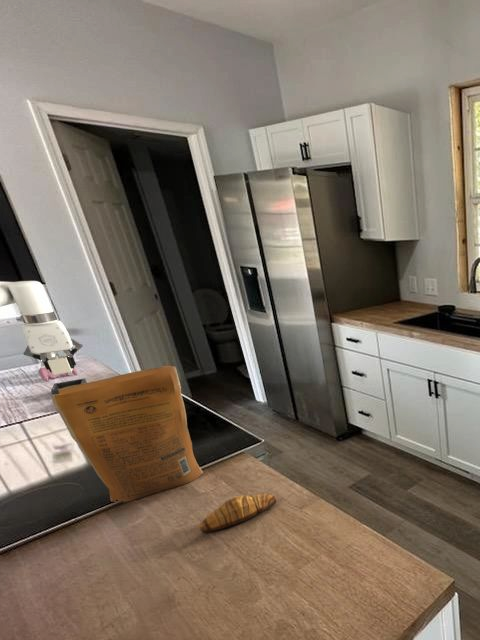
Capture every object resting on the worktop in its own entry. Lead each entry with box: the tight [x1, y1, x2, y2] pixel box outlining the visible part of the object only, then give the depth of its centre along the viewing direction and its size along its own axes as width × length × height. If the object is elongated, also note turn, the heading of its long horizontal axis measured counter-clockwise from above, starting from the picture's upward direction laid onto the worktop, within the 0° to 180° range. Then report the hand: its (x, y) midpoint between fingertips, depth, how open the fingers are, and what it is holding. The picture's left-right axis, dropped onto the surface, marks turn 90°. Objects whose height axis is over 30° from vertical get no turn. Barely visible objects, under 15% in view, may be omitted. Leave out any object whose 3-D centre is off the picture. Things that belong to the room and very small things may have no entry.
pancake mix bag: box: [50, 365, 204, 503], centre depth 88 cm, size 7×19×28 cm, turn 131°
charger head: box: [47, 352, 73, 375], centre depth 145 cm, size 4×6×6 cm
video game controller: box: [38, 366, 79, 382], centre depth 162 cm, size 10×5×7 cm, turn 149°
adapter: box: [50, 378, 88, 395], centre depth 148 cm, size 8×10×3 cm
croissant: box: [199, 493, 277, 534], centre depth 83 cm, size 14×7×5 cm, turn 135°
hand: (62, 368), depth 145 cm, fingers closed on charger head, 4 cm apart
